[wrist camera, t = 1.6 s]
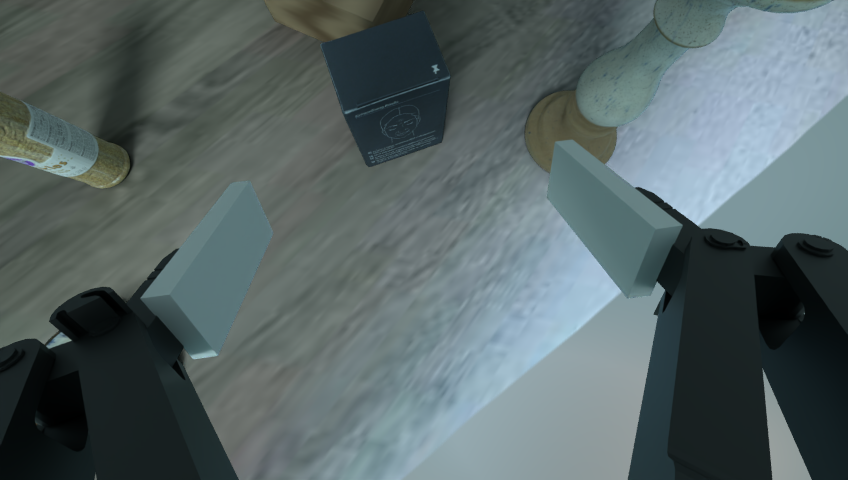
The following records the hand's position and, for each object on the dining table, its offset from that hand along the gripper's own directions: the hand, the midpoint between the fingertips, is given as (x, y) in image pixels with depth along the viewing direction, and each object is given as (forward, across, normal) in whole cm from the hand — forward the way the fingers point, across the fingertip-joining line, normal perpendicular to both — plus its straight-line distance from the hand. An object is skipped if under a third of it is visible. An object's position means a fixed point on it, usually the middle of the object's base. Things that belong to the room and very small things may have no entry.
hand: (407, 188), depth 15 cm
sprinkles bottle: (+20, -28, -4) cm, 35 cm away
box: (+20, 0, -4) cm, 20 cm away
